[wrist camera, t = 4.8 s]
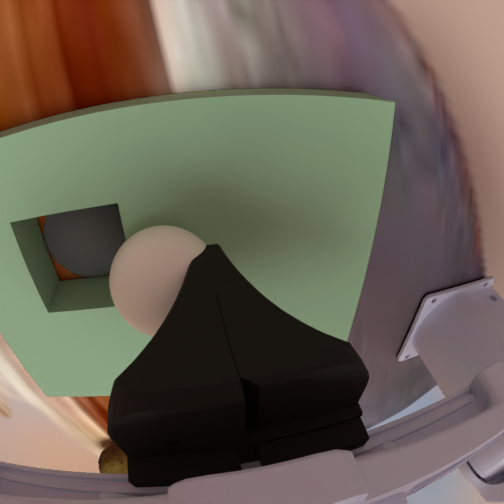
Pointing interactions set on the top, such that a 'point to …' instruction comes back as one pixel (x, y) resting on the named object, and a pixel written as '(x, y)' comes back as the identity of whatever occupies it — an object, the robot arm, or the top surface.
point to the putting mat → (185, 212)
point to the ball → (151, 274)
